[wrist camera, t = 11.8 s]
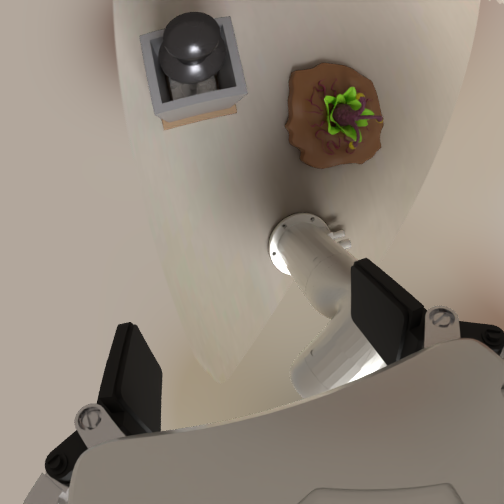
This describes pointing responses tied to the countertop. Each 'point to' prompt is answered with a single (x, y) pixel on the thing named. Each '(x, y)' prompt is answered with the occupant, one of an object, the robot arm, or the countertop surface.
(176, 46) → the plunger
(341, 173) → the countertop surface
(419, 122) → the countertop surface
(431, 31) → the countertop surface
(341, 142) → the plant
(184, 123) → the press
